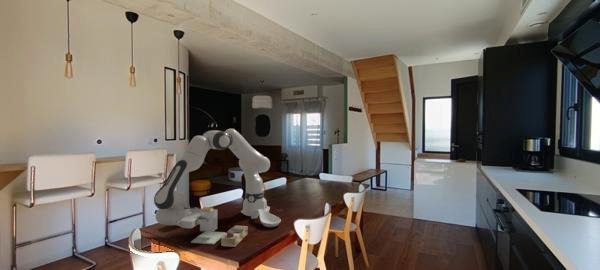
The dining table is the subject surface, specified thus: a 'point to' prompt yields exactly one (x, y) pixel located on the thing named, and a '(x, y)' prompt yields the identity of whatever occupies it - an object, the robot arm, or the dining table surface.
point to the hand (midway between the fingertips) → (210, 219)
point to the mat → (208, 237)
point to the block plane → (234, 236)
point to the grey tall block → (212, 219)
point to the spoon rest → (266, 218)
